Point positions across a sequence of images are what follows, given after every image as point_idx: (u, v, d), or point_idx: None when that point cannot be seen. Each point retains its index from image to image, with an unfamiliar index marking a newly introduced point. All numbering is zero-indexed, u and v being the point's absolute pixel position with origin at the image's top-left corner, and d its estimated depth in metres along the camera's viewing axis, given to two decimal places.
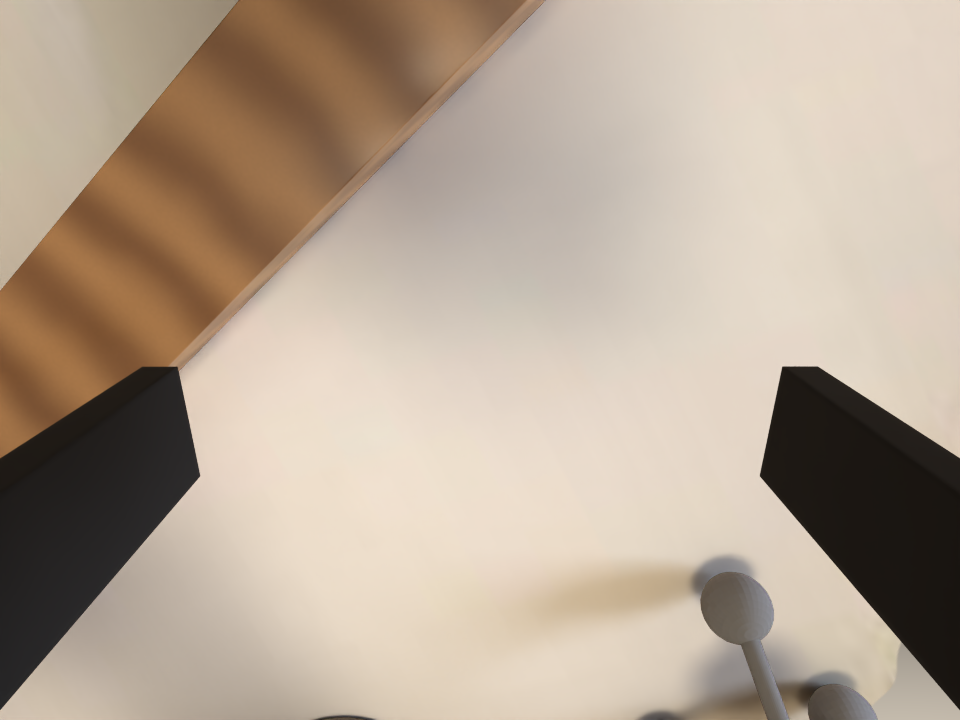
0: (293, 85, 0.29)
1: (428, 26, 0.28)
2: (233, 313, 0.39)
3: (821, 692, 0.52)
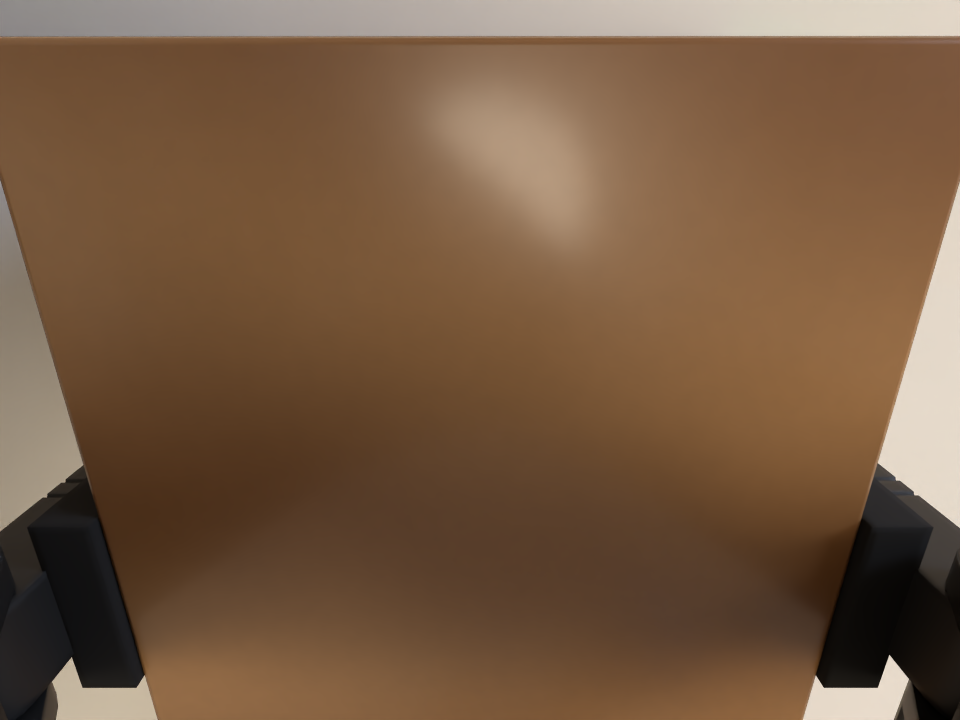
0: None
1: None
2: None
3: None
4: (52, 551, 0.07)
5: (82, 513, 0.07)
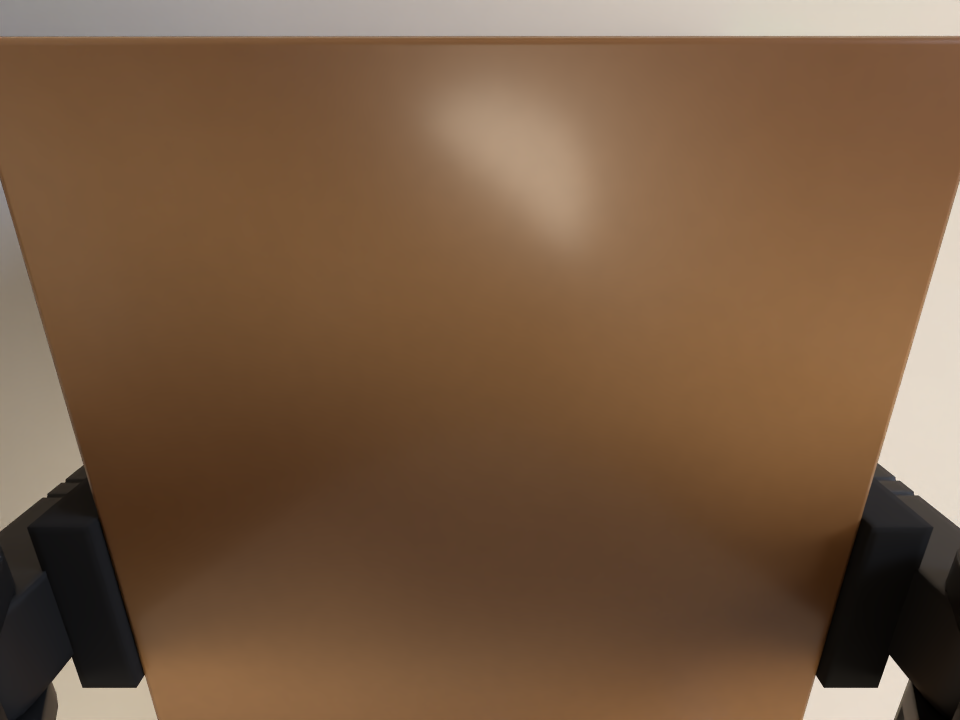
0: None
1: None
2: None
3: None
4: (52, 551, 0.07)
5: (82, 513, 0.07)
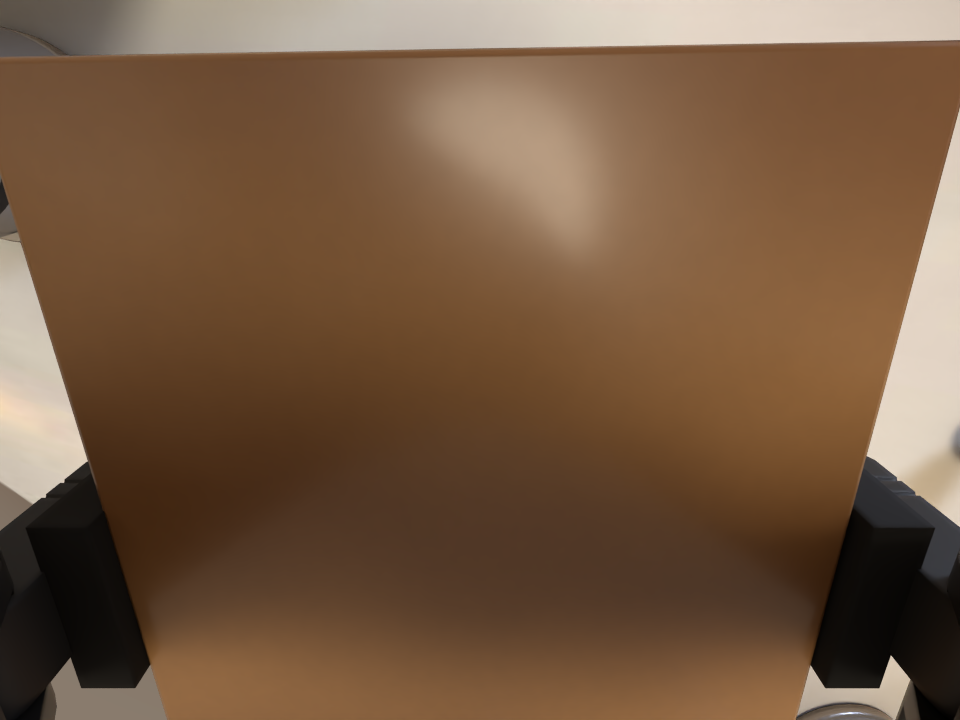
0: None
1: None
2: None
3: None
4: (50, 551, 0.07)
5: (80, 513, 0.07)
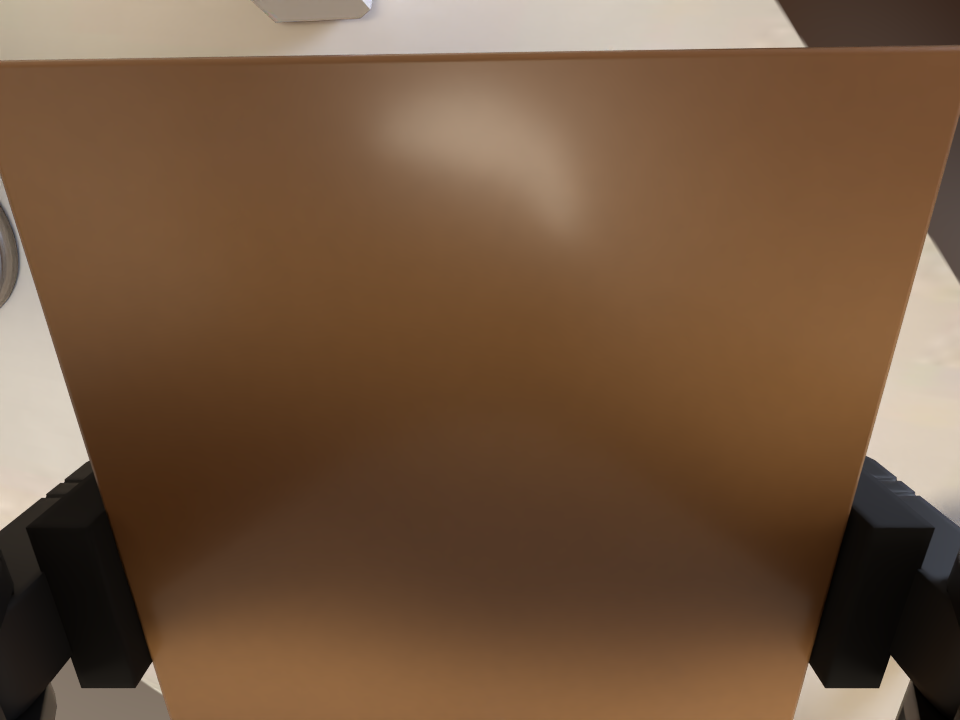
0: None
1: None
2: None
3: None
4: (50, 551, 0.07)
5: (80, 513, 0.07)
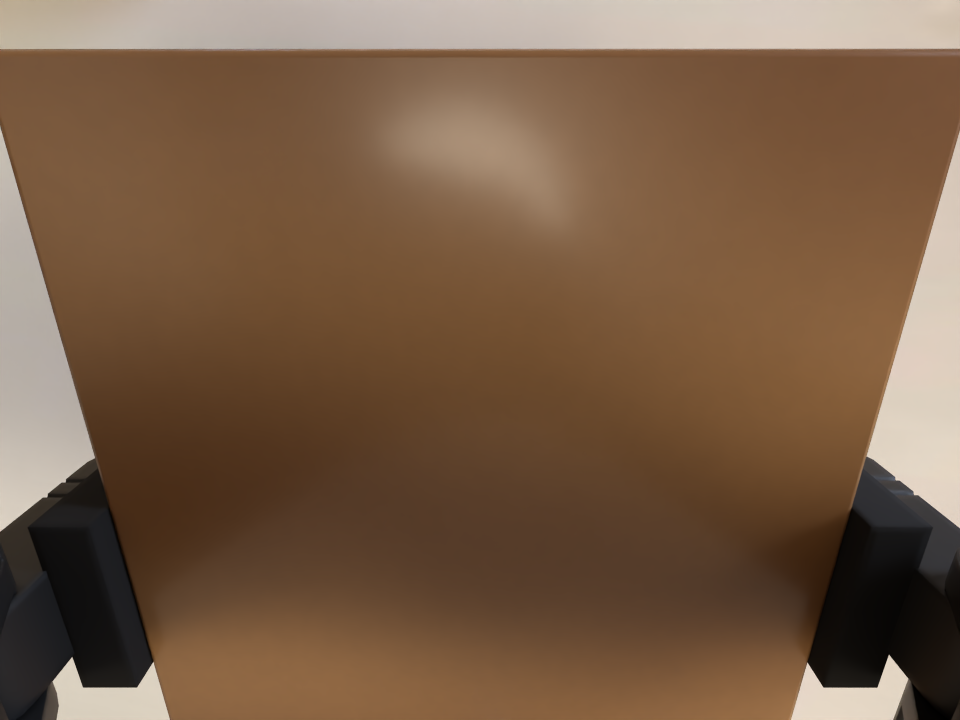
0: None
1: None
2: None
3: None
4: (52, 551, 0.07)
5: (82, 513, 0.07)
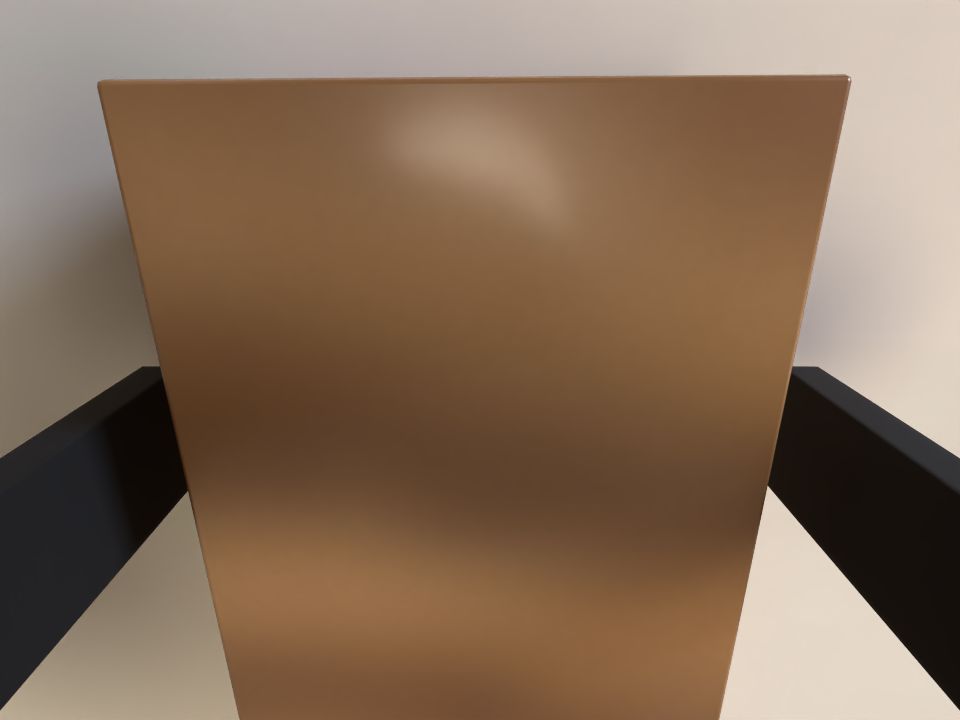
0: None
1: None
2: None
3: None
4: None
5: None
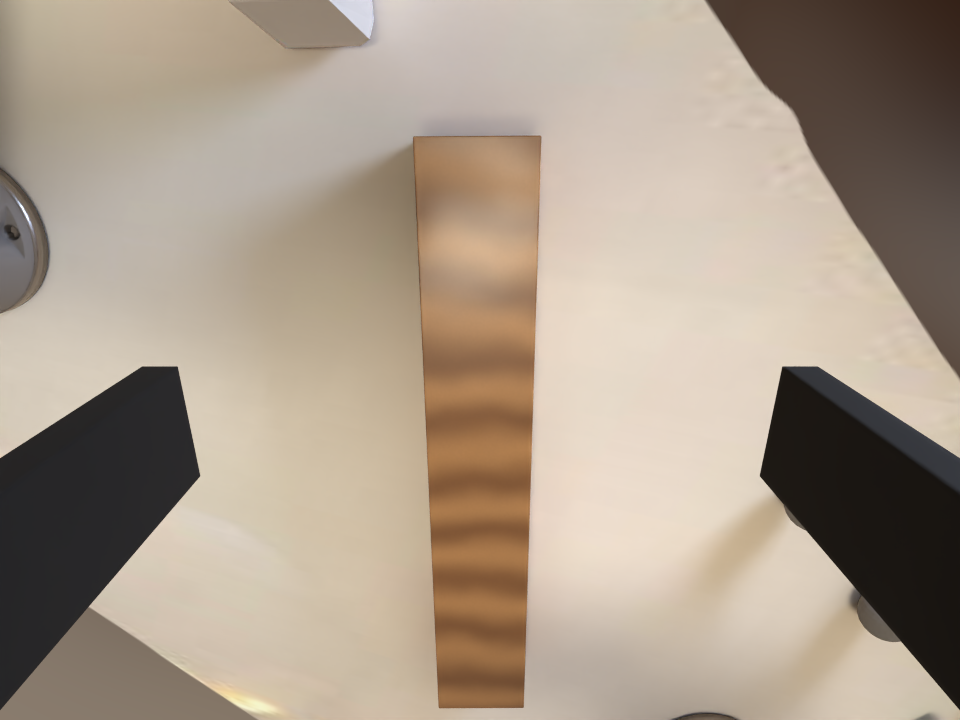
0: (474, 409, 0.50)
1: (506, 333, 0.47)
2: None
3: None
4: None
5: None
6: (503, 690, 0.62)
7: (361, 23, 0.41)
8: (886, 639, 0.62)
